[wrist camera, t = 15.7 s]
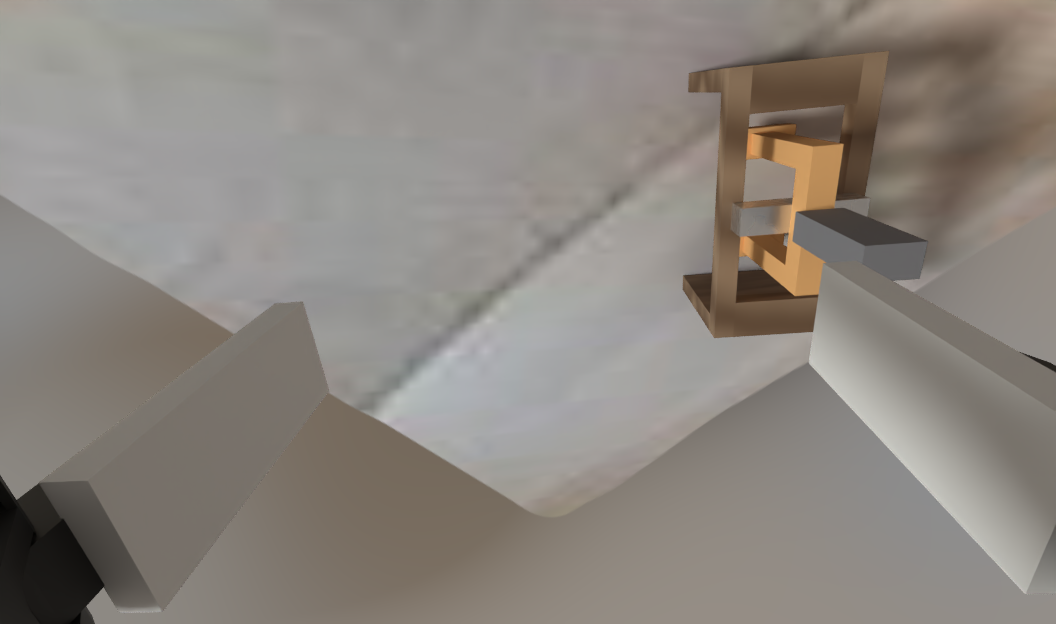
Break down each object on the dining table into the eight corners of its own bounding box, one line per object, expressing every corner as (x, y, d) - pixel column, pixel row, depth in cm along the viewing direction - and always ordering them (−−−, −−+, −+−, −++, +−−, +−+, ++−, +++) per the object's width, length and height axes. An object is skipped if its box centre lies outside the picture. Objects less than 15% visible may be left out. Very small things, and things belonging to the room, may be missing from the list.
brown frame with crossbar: (688, 73, 43) (729, 67, 33) (809, 60, 42) (889, 50, 32) (682, 289, 51) (714, 338, 41) (784, 282, 50) (842, 329, 40)
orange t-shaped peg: (726, 129, 42) (858, 158, 24) (788, 123, 42) (971, 148, 23) (719, 252, 46) (826, 357, 28) (775, 248, 46) (921, 352, 28)
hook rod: (732, 202, 37) (741, 208, 35) (854, 192, 36) (870, 197, 34) (730, 229, 37) (739, 236, 36) (850, 220, 37) (865, 226, 35)
